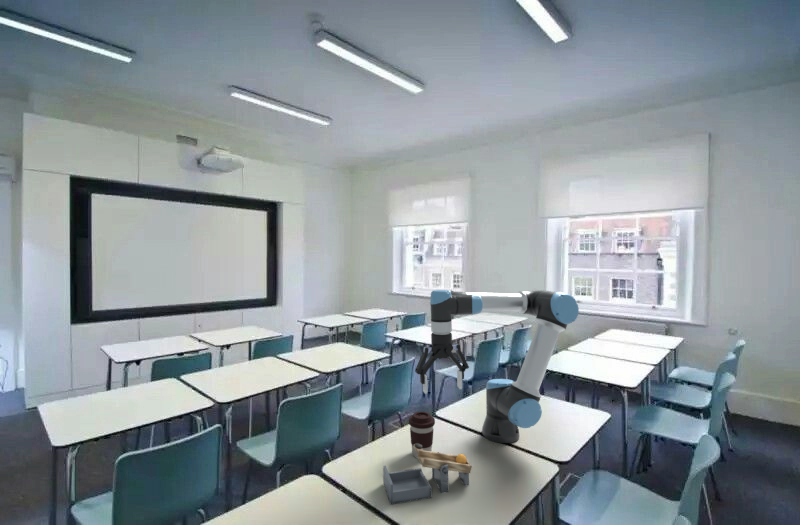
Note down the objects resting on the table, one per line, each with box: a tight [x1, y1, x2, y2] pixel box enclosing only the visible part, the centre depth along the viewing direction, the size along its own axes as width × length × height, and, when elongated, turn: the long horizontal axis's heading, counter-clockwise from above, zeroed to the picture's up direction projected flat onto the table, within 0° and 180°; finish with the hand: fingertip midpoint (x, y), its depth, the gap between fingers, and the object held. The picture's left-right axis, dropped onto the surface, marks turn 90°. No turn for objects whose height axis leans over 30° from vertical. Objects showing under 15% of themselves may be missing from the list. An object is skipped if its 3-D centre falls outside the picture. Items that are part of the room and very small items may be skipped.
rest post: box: [458, 472, 470, 486], centre depth 126 cm, size 2×5×4 cm, turn 14°
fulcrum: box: [431, 451, 449, 494], centre depth 124 cm, size 2×10×8 cm, turn 14°
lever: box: [413, 443, 473, 474], centre depth 128 cm, size 17×14×2 cm
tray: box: [382, 465, 432, 505], centre depth 121 cm, size 13×11×6 cm
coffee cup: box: [408, 411, 436, 459], centre depth 143 cm, size 10×10×15 cm
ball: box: [456, 453, 468, 464], centre depth 126 cm, size 4×4×4 cm
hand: (442, 390), depth 138 cm, fingers open, 13 cm apart
